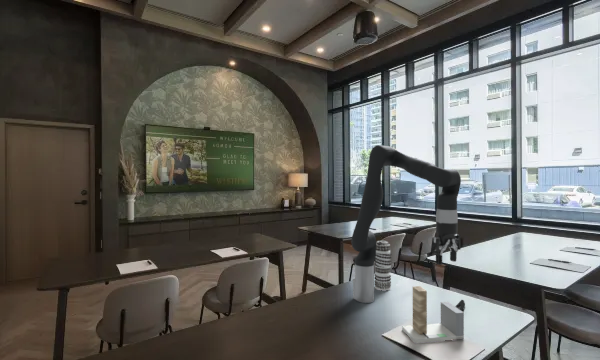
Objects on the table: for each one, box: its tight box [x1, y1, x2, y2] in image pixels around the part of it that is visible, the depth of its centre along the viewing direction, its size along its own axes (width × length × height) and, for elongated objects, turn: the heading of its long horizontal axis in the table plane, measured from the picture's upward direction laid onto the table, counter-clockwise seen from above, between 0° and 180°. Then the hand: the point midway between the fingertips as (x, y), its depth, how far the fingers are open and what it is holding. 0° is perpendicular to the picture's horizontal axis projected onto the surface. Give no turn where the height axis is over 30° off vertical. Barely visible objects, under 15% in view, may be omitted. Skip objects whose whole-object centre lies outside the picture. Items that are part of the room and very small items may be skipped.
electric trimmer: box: [454, 299, 466, 312], centre depth 141 cm, size 4×16×3 cm, turn 142°
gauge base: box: [401, 301, 465, 344], centre depth 121 cm, size 19×10×10 cm, turn 97°
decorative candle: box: [374, 240, 392, 292], centre depth 170 cm, size 9×9×25 cm
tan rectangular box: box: [412, 285, 429, 338], centre depth 118 cm, size 3×8×16 cm, turn 7°
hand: (446, 262), depth 123 cm, fingers open, 8 cm apart
